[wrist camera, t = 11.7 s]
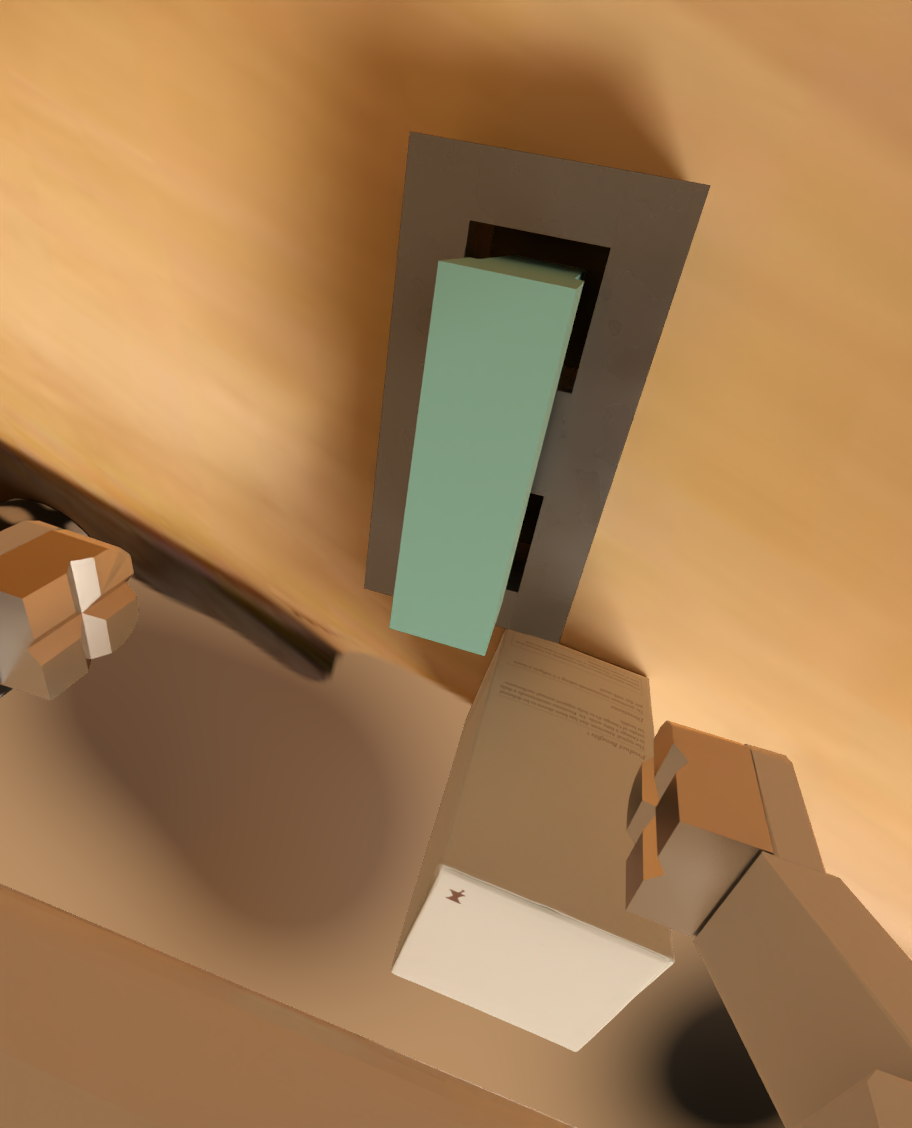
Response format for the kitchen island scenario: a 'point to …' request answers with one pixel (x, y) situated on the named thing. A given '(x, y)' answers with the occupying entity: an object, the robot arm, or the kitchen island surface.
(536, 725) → the supplement box
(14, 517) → the white-spotted black cylinder
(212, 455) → the kitchen island surface
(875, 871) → the kitchen island surface
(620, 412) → the gray socket base
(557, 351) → the green u-shaped block
